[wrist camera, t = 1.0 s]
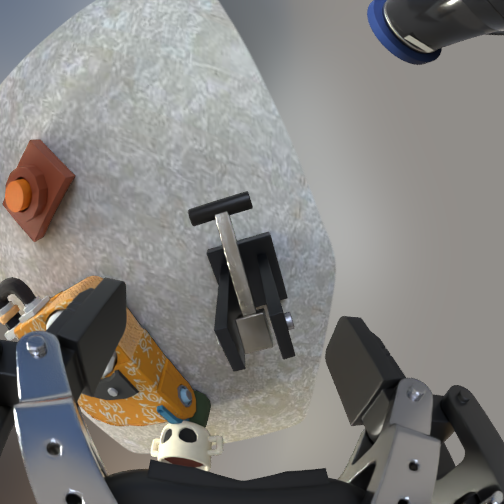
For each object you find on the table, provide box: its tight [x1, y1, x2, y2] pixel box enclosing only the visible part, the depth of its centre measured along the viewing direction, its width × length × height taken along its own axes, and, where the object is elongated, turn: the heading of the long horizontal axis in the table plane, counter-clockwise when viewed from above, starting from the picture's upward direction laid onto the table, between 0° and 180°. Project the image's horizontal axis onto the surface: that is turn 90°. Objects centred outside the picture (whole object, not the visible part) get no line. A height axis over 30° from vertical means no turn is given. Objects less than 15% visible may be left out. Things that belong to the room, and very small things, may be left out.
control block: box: [3, 140, 75, 242], centre depth 24 cm, size 10×8×4 cm
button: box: [5, 179, 32, 212], centre depth 22 cm, size 4×4×2 cm
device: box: [0, 276, 196, 426], centre depth 30 cm, size 23×8×30 cm
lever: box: [188, 191, 273, 354], centre depth 21 cm, size 12×5×2 cm, turn 16°
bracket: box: [207, 232, 295, 371], centre depth 25 cm, size 8×7×13 cm
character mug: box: [151, 390, 223, 472], centre depth 32 cm, size 11×7×13 cm, turn 104°
